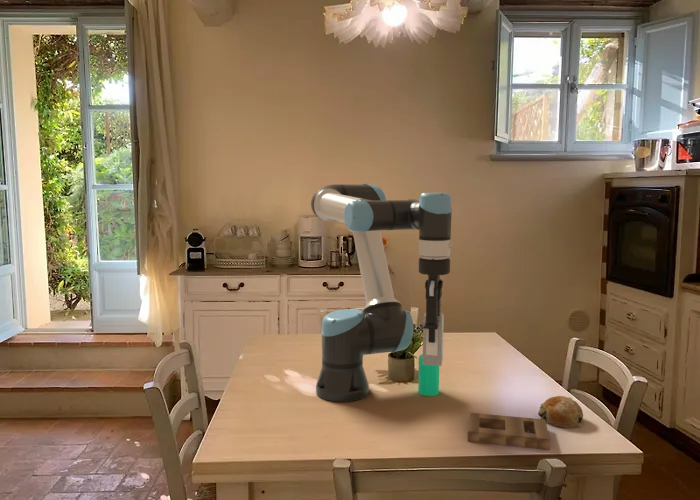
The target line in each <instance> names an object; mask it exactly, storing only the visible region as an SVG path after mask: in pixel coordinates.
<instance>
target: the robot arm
mask: <svg viewBox="0 0 700 500" xmlns="http://www.w3.org/2000/svg"><path fill="white" fill-rule="evenodd" d="M310 208H311V210H312V213H313V214H314V215H315V217H317V218H318V219H320V220H322V221H325V222H339V223H343V224H345V226H346V228H347V230H348V231H349V232H351V233H352V236H353V239H354V240H353V241H354V246H355V250H356V251H355V252H356V256H357V261H358V267H359V271H360V276H361V281H362V282H361V283H362V287H363V293H364V298H365V304H366V305H365V306H364V308H363V309H362V310H361V309H358V308H349V309H348V308H343V309H339V310H334V311H331V312H329V313H327V314H326V315H325V316H324V317H323V318H322V321H321V330H320V332H321V333H320V334H321V369H320V372H319V375H318V378H317V381H316V384H315V385H316V386H315V387H316V388H315V394H316V396H317V397H319V398H321V399H324V400H327V401H331V402H341V403H342V402H354V401H358V400H361V399H364V398H365V397H367V396H368V395H369V392H370V384H369V382H368V378H367V375H366V371H365V369H364V365H363V364H364V356H366V355H375V354H376V355H377V354H384V353H395V352H401V351H404V350H406V349H408V347H409V346H410V344H411V343H412V339H413V336H414V335H413V334H414V321H413V316H412V314H410V311H408V310H405V309H403V307H402V302H400V300H398V299H396V298H395V294H394V289H393V285H392V278H391V276H390V271H389V266H388V261H387V257H386V251H385V246H384V243H383V237H382V232H381V231H406V230H412V231H413V230H415V231H418V256H420V257H419V258H418V273H420V274H422V275H427V279H426V281H425V283H424V288H425V300H426V302H425V305H426V306H425V307H426V308H425V312H426V325H425V326H423V325H422V329H423V328H424V329H426V355H435V356H437V355H438V326H437V321H438V313H441V306H442V305H441V304H442V303H441V298H442V294H443V291H442V289H443V286H444V283H443V282H444V280H443V279H441V276H445V275H449V274H450V272H451V259H450V257H449V256H450V255H451V248H453V247H454V244H453V243H451V237H452V235H451V234H452V213H453V208H452V196H451V194H450V193H449V192H422V193H421V194H420V196H419V199H412V198H411V199H410V198H409V199H393V200H389V199H388V200H387V198H386V194H385V192H384V191H383V189H382V188H381V187H379V186H378V185H376V184H368V183H362V184H341V183H340V184H338V183H336V184H335V183H334V184H329V185H325V186H323V187H320V188H319V189H317V191H315V193H314V194H313V196H312V198H311V199H310Z"/></svg>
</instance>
